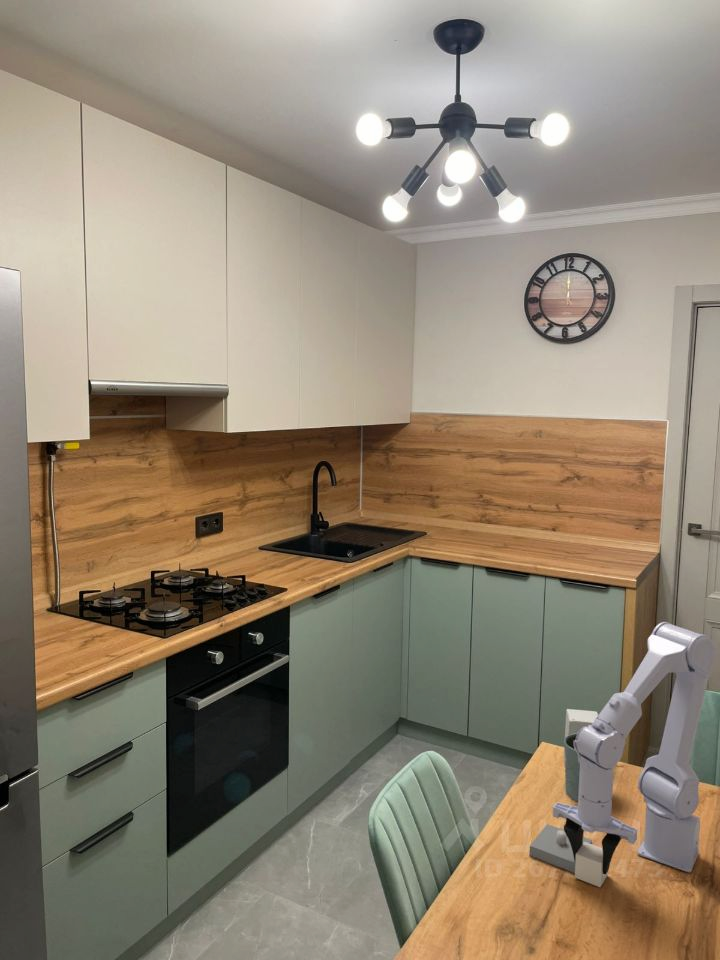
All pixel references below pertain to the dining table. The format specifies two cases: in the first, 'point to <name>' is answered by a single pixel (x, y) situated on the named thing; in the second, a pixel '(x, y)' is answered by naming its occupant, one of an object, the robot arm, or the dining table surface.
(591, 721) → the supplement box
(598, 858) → the cream colored cube
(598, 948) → the dining table surface
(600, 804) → the robot arm
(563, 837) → the stud block
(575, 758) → the teal cup
